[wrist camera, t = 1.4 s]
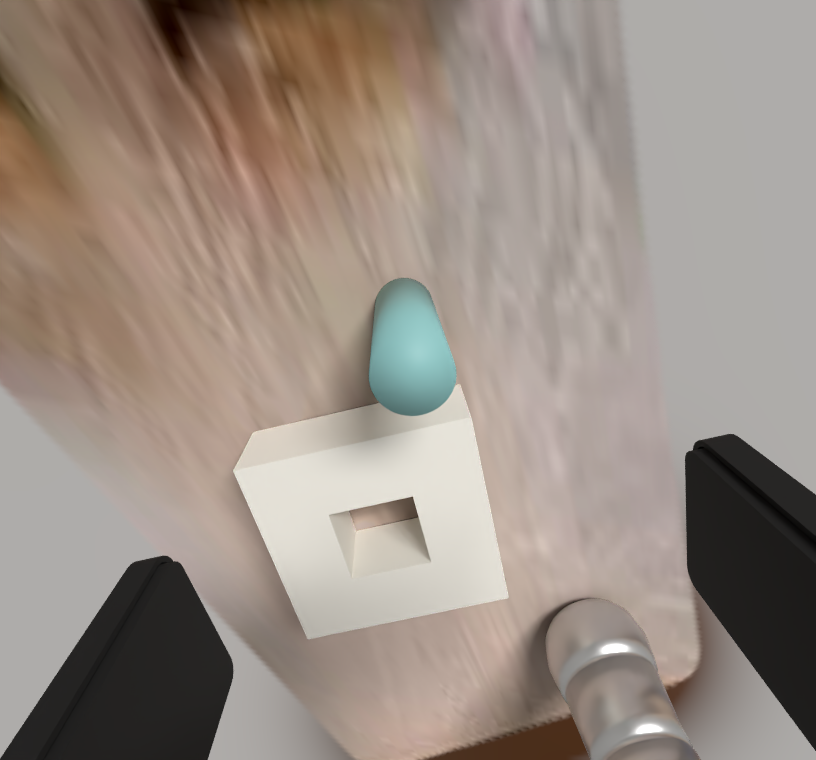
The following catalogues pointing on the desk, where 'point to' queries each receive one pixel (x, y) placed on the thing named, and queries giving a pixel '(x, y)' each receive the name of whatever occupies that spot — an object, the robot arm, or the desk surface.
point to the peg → (409, 351)
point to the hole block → (365, 486)
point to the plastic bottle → (613, 684)
